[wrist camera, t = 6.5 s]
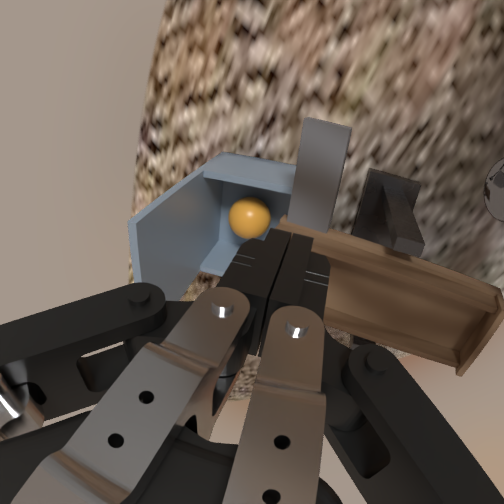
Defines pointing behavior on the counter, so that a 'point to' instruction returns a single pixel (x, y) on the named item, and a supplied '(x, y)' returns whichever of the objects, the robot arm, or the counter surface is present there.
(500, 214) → the wine glass
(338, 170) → the lever
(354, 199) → the counter surface
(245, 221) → the ball
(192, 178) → the grey-blue open bin
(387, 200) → the lever stand
